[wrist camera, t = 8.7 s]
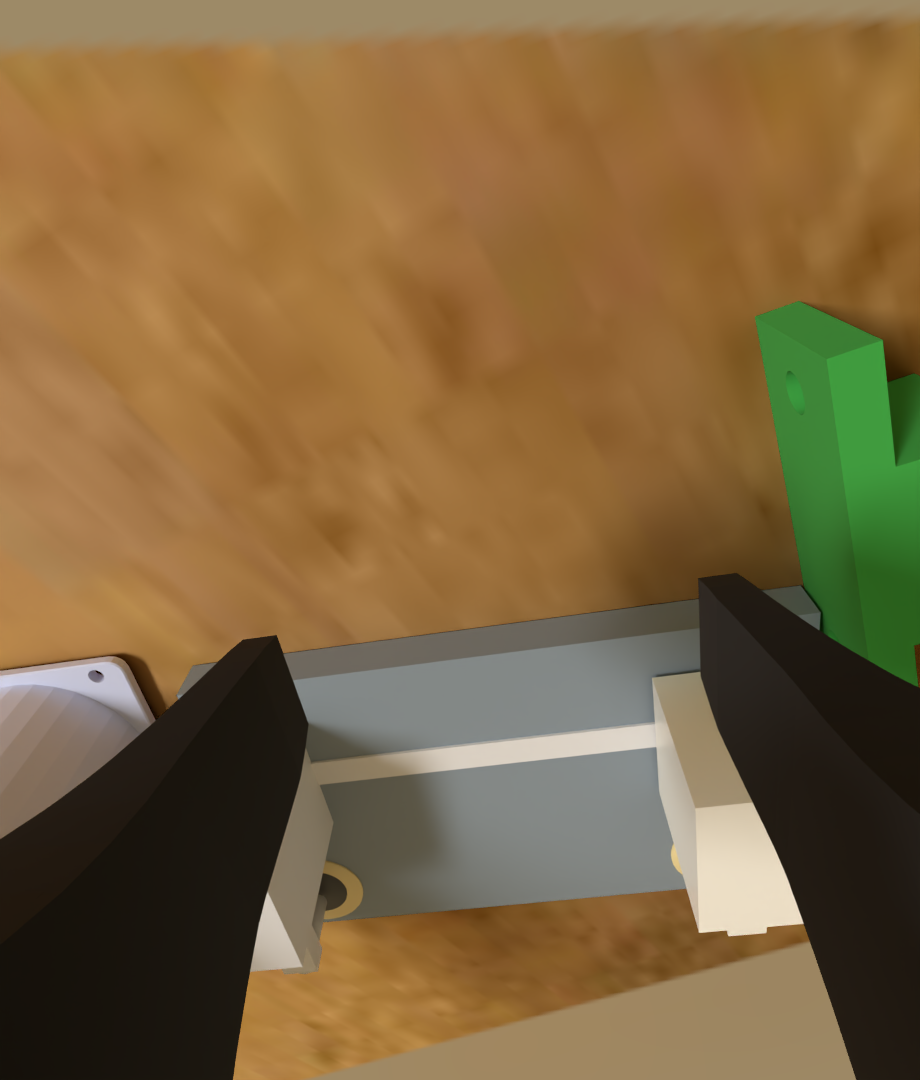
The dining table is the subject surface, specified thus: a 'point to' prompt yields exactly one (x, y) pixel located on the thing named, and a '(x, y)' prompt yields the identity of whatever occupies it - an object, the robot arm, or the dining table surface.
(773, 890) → the block
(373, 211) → the dining table surface
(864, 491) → the pipe clamp
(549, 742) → the plate
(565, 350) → the dining table surface
